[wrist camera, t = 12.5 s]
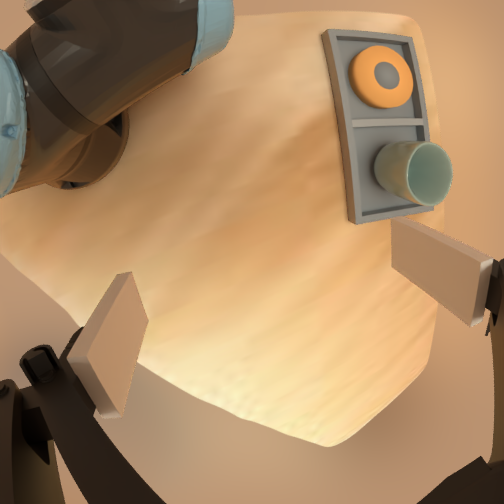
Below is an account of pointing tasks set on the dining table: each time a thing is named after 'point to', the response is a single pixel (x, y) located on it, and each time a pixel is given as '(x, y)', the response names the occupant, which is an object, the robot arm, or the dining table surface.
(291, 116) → the dining table surface
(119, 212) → the dining table surface
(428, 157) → the cup
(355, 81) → the orange round thick disc
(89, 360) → the robot arm
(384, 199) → the tray
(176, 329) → the dining table surface
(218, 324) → the dining table surface
